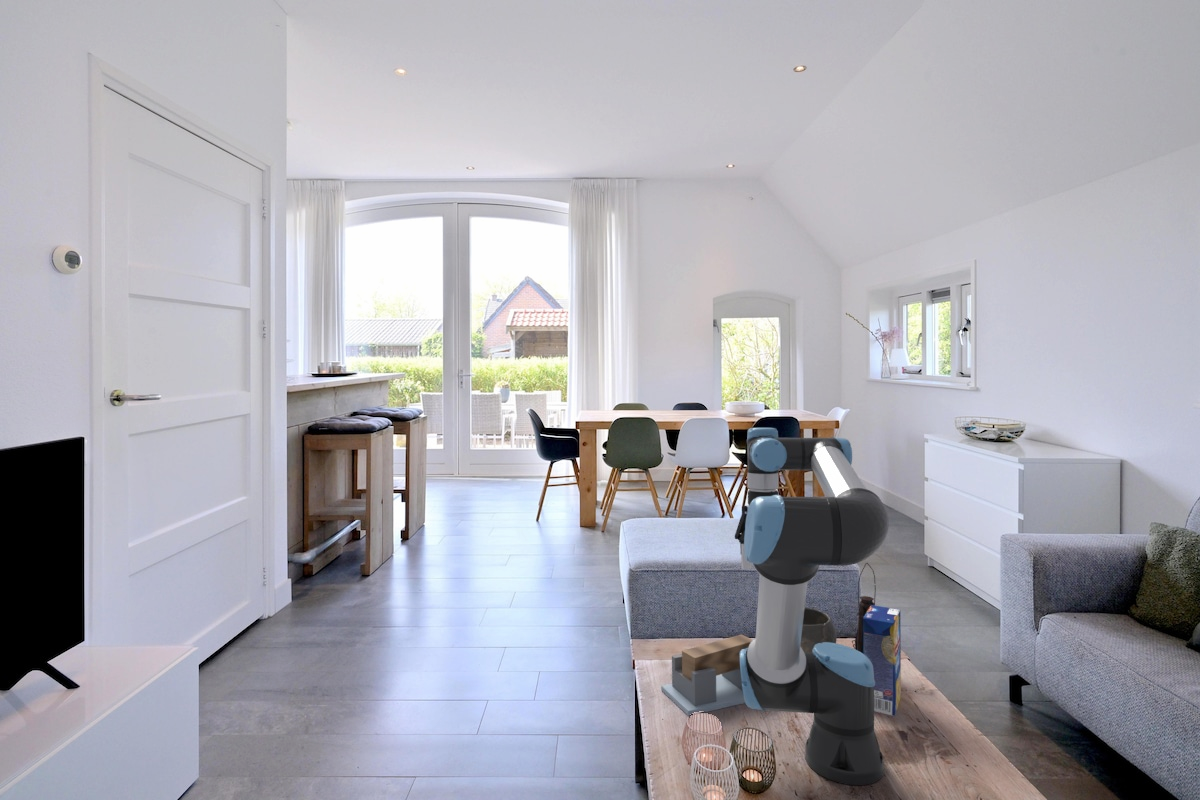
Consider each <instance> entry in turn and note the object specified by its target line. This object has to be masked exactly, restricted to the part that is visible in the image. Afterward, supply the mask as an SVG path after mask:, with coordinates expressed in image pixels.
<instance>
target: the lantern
mask: <svg viewBox="0 0 1200 800" xmlns="http://www.w3.org/2000/svg"><path fill="white" fill-rule="evenodd" d="M866 566H869V568H870V569H871V570H872V573H873V579H874V580H873V581H874V583H876V575H875V571H874V569H873V568H872V566H871V565H870V563H868V562H866V563H865V564H864V566H863V568H862V570H861V571H860V573H859V574H860V575H859V578H858V582H857V602H858V603H857V605H858V606H857V607H858V608H857V609H858V612H857V614H856V616H858V618H857V620H858V621H857V622H858V623H857V630H856V633H855V638H854V640H851V643H852V648H853V649H855V650H858V651H859V652H861V653H863V617H864V616H865V614H866V612H867V611H868V609H869V607H870V606H871V605H875V606H876V596H873V597H871V596H868V595H867V596H866V595H862V596H860V595H859V594H860V580H861V577H862V576H861V575H862V573H863V571H864V569H865V567H866ZM876 591H877V590H876V586H874V594H876V593H877V592H876ZM859 599H860V600H859Z"/></svg>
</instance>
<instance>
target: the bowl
mask: <svg viewBox="0 0 1200 800" xmlns="http://www.w3.org/2000/svg"><path fill="white" fill-rule="evenodd" d="M823 642H830V643H837V631H836V626H835V625H834V623H833V620H832V619H831V617H830V616H829V615H828V614H827V613H826V612H824V611H822V610H819V609H817V608H816V609H815V608H812V607H811V608H810V607H806V606H805V609H804V618H803V627H802V635H801V644H800V647H801V648H802V650H803V651H804V652H812V650H813V648H814V646H815V645H816V644H818V643H823Z"/></svg>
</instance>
